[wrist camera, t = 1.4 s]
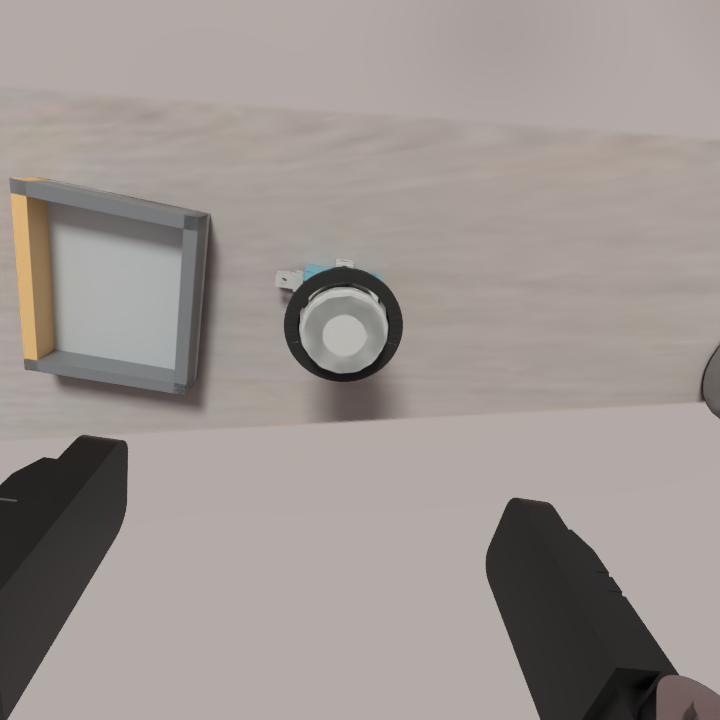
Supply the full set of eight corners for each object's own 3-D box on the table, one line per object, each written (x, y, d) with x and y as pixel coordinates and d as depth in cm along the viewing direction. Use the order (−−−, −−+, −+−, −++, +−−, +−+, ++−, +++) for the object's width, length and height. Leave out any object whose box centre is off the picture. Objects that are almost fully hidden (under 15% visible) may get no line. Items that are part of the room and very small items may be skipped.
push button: (274, 313, 29) (246, 380, 20) (282, 229, 27) (254, 260, 18) (375, 327, 29) (393, 397, 20) (390, 246, 27) (417, 284, 18)
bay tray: (210, 213, 26) (198, 217, 24) (196, 379, 30) (185, 395, 28) (38, 177, 25) (9, 177, 23) (48, 354, 29) (24, 369, 27)
